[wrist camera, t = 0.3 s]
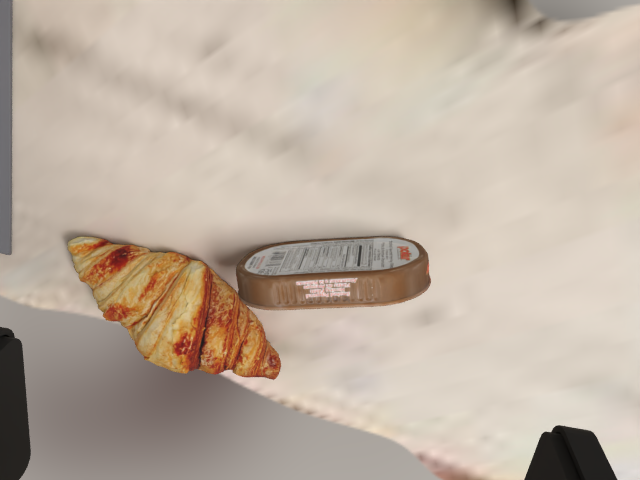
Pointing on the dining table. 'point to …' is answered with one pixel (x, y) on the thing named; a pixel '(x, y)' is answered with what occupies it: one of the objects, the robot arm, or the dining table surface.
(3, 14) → the mat
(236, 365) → the croissant
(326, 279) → the tin
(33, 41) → the dining table surface
